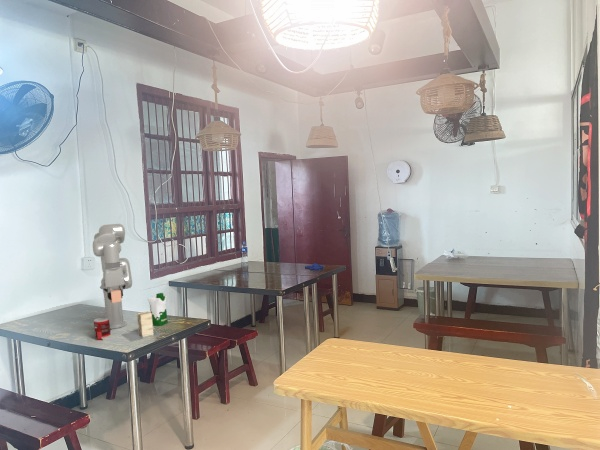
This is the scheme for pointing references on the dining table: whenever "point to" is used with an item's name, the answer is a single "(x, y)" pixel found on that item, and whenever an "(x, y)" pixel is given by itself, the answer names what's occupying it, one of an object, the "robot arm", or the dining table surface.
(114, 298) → the terracotta block
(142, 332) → the beech block base
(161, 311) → the milk carton
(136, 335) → the slate board
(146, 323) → the beech block mid
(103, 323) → the canned food
